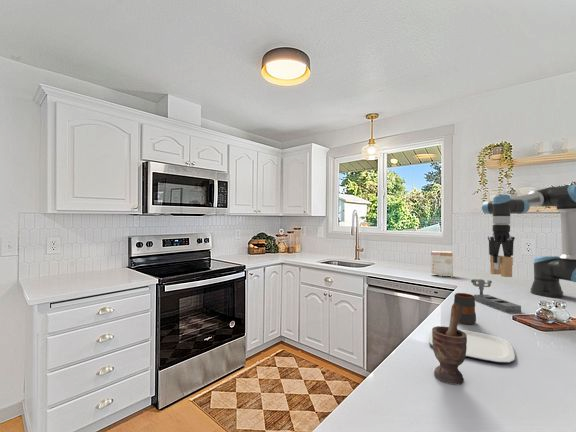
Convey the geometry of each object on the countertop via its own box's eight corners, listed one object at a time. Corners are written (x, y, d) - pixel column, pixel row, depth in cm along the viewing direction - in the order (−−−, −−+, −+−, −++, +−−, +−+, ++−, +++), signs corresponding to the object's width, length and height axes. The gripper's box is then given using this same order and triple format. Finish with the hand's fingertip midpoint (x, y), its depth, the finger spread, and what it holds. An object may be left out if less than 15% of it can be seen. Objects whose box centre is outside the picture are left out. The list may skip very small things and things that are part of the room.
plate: (518, 371, 89) (518, 366, 89) (425, 351, 102) (425, 346, 102) (510, 342, 110) (510, 337, 110) (434, 328, 123) (434, 324, 124)
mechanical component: (492, 298, 171) (492, 280, 171) (472, 297, 173) (472, 279, 173) (489, 296, 174) (489, 279, 174) (470, 295, 176) (470, 278, 176)
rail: (487, 299, 167) (487, 294, 167) (521, 312, 145) (521, 305, 145) (473, 300, 166) (473, 294, 166) (505, 312, 144) (505, 306, 145)
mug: (477, 319, 135) (477, 293, 135) (475, 326, 125) (475, 298, 125) (455, 315, 140) (455, 290, 140) (451, 322, 130) (451, 295, 130)
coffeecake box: (452, 276, 237) (452, 251, 237) (452, 277, 231) (452, 252, 231) (432, 274, 245) (432, 250, 245) (431, 275, 239) (431, 251, 239)
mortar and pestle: (433, 363, 93) (433, 298, 93) (465, 370, 89) (465, 302, 89) (431, 380, 82) (431, 308, 83) (467, 389, 78) (467, 313, 79)
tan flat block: (497, 273, 160) (497, 254, 160) (512, 277, 150) (512, 257, 150) (490, 273, 160) (490, 254, 160) (505, 277, 150) (505, 257, 150)
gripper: (510, 224, 160) (510, 268, 160) (480, 224, 158) (480, 268, 158) (522, 224, 153) (522, 270, 152) (491, 224, 151) (491, 270, 151)
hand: (500, 269), depth 155 cm, fingers closed on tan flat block, 4 cm apart
